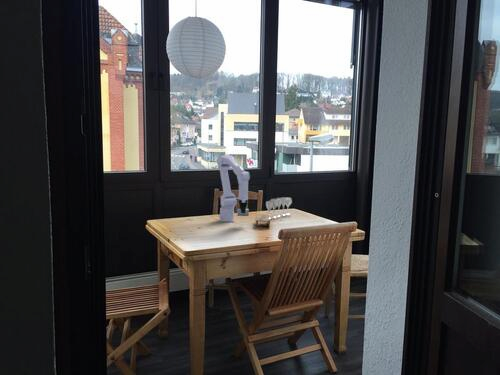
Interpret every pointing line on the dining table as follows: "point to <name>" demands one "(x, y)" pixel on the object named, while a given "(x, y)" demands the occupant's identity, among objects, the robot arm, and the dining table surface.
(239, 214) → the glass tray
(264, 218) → the walnut shelf
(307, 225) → the dining table surface
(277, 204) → the goblet set
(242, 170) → the robot arm
